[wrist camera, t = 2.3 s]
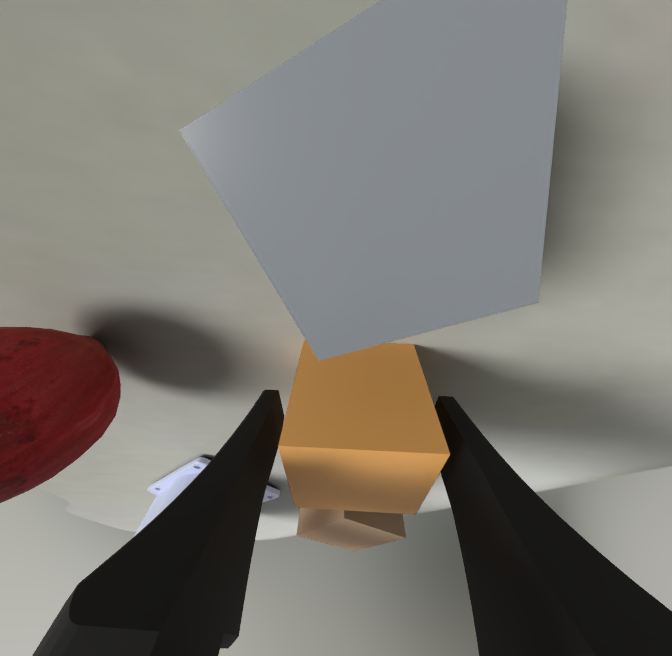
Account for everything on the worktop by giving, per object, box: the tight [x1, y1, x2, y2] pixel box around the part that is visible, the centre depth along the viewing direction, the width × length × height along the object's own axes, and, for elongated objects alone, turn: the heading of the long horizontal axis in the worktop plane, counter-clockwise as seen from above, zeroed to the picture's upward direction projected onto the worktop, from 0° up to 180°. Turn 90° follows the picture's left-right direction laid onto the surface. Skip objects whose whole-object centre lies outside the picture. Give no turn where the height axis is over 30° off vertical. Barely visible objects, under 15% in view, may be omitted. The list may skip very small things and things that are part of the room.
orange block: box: [278, 341, 450, 514], centre depth 10 cm, size 5×5×5 cm
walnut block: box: [297, 508, 406, 551], centre depth 16 cm, size 4×4×4 cm
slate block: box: [179, 0, 567, 361], centre depth 6 cm, size 4×4×4 cm
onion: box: [0, 327, 121, 503], centre depth 8 cm, size 6×6×8 cm
